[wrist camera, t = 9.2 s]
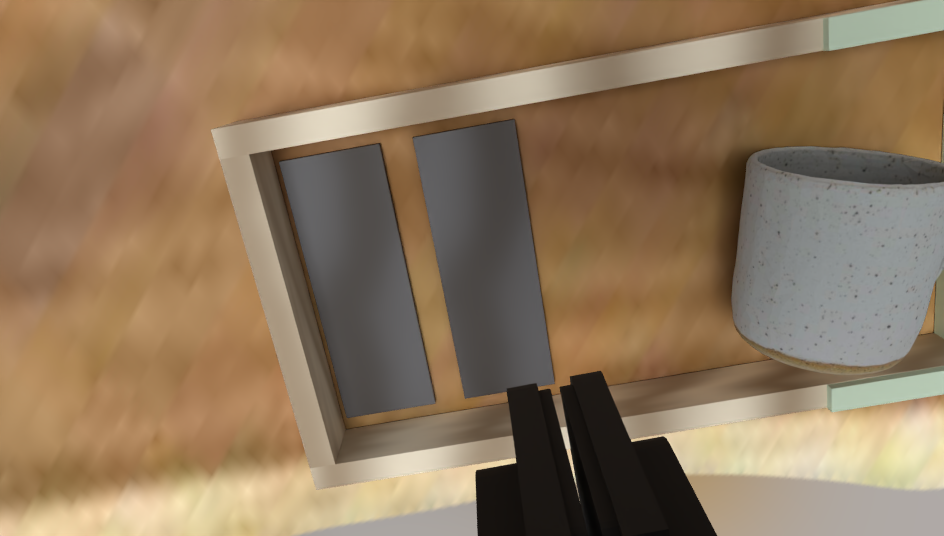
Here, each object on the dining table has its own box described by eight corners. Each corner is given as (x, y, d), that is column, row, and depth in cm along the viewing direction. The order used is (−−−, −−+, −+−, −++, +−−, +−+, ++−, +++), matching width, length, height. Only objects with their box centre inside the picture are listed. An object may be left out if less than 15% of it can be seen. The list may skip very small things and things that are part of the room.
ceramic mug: (702, 317, 32) (776, 394, 25) (718, 146, 30) (806, 178, 23) (916, 309, 33) (1052, 384, 25) (951, 140, 30) (1112, 170, 23)
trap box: (978, -15, 28) (1037, -22, 25) (957, 350, 33) (1004, 378, 30) (235, 121, 29) (210, 129, 26) (328, 453, 34) (316, 490, 32)
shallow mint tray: (977, -14, 28) (1045, -22, 25) (957, 350, 33) (1010, 383, 30) (786, 21, 28) (828, 17, 25) (795, 377, 34) (831, 412, 30)
